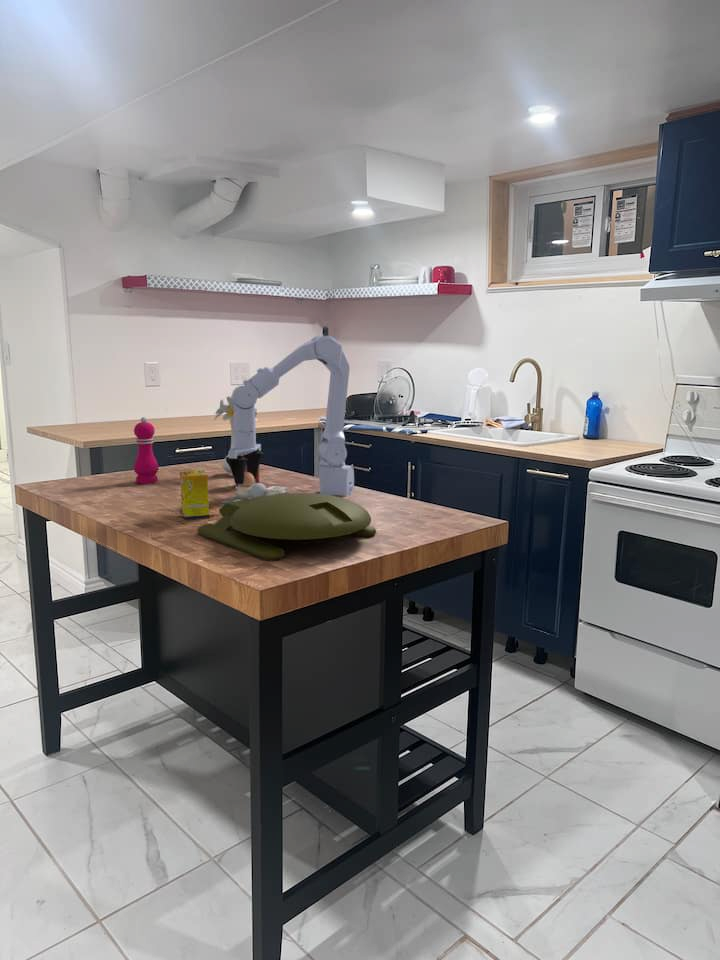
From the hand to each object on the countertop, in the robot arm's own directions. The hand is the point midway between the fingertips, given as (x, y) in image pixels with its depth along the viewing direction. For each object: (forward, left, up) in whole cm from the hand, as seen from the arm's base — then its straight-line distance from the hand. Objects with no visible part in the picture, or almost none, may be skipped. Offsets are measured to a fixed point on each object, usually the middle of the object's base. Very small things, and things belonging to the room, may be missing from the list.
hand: (246, 481), depth 190 cm
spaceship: (-27, +29, -6) cm, 40 cm away
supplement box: (+4, +20, -6) cm, 21 cm away
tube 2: (-9, 0, -4) cm, 10 cm away
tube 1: (0, 0, -4) cm, 4 cm away
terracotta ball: (0, 0, 0) cm, 0 cm away
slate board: (-4, +2, -5) cm, 7 cm away
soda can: (+7, -14, -6) cm, 17 cm away
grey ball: (-4, +2, -2) cm, 5 cm away
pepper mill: (+40, -12, -6) cm, 43 cm away
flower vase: (+20, -33, -6) cm, 39 cm away
